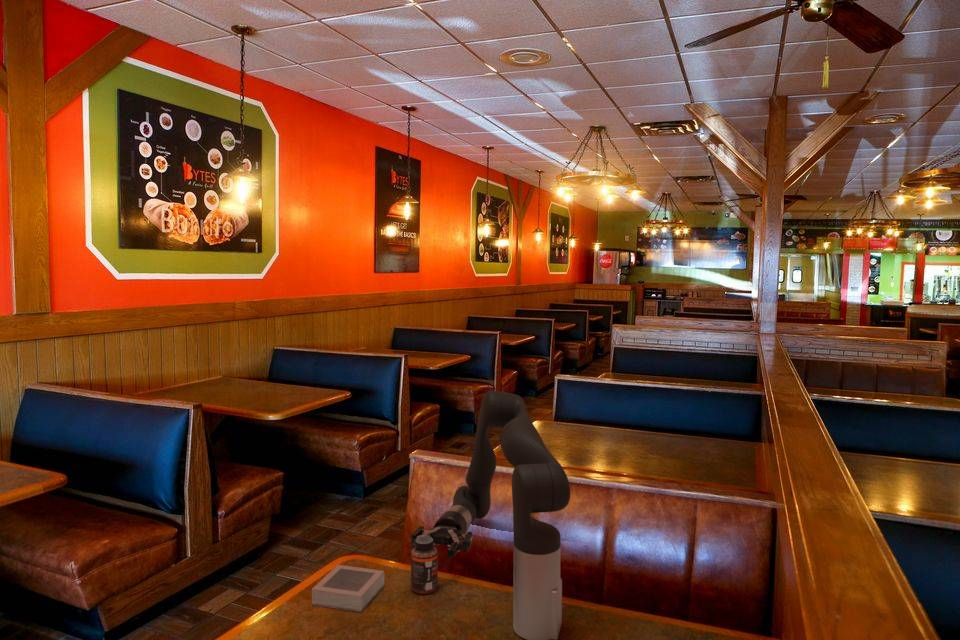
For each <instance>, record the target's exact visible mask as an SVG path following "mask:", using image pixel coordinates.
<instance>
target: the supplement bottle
mask: <svg viewBox="0 0 960 640" xmlns="http://www.w3.org/2000/svg"><path fill="white" fill-rule="evenodd" d="M415 546H416V547H415V548H413V550H412V549H411V552H410V567H411V568H410V580H411V581H410V582H411V583H410V585H411V590H412V591H413V592H415V593H416V594H419V595H428V594H432V593H434V592H435V591H437V589H438V588H439V587H438V586H439V580H438V579H439V573H438V572H439V568H438V567H439V566H438V564H439V562H438V561H439V558H438V556H439V555H438V549H437V548H436V547H435V545H434V544H433V539H432V538H431V537H426V536H424V537H419V538H417V539H416V540H415Z"/></svg>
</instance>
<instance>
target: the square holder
mask: <svg viewBox="0 0 960 640" xmlns="http://www.w3.org/2000/svg"><path fill="white" fill-rule="evenodd" d="M384 587H385V571H384V570H380V569H379V570H378V569H373V568H365V567H355V566H350V565H343V564H337V565H335V567H334V568H332V570H330V571H329V572H328V573H327V574H326V575H325V576H324V577H323V578H322V579H321V580H319V582H318V583H316V585H314V586H313V587H312V588H311V604H312V606H317V607H324V608H330V609H335V610H337V609H338V610H344V611H349V612H356V613H363V611H364V610H365V609H366V608H367V606H368V605H370V603H371V602H372V601H373V600H374V599H375V597H376V596H377V595H378V594H379V593H380V592H381V591H382V589H383V588H384Z"/></svg>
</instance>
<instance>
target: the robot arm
mask: <svg viewBox="0 0 960 640" xmlns="http://www.w3.org/2000/svg"><path fill="white" fill-rule="evenodd" d="M527 409H528V408H527V405H526V403H525V400H524V399H523V398H522V396H520V395H518V394H515V393H510V392H505V391H499V390H491V389H490V390H487V392H485V394H484V396H483V398H482V400H481V403H480V408H479V413H478V419H477V423H476V424H477V425H476V429H475V430H476V431H475V438H474V444H473V445H474V446H473V450H472V456H471V460H470V462H469V466H468V470H467V474H466V477H465V483H466V485H461V486H459V487H458V488H457V489H456V490H455V492H454V495H453V498H452V505H451V506H450V507H449V508H447V509H446V510H445V511H444V513H442V515H441V516H440V517H439V518H438V519H437V520H436V522H435V523H434V526H433V527H432V528H430V529H429V530H428V529H425V527H424V526H422V525H421V526H419V527H418V528H416V529H415V530H414V531H413V532H412V533H411V534H410V545H411V551H412V550H413V548H415V547H416V546H415V540H416V539H417V538H419V537H424V536H426V537H431V538H432V539H433V544H434V545H433V546H435V545H436V546H439V545H441V546H446V547H448V549H447V558H448V559H452V558H453V557H455V556H456V555H457V554H458V553H459V552H461V551H462V552H464V553H467V552H469V549H470V547H471V546H472V544H473V532H472V531H469V529H470V526H472V524H473V522H474V521H475V519H477V520H481V519H484V518H485V517H486V516H487V515H488V513H489V511H490V509H491V502H492V501H491V499H492V498H491V496H492V495H491V486H492V481H493V478H494V475H495V472H496V468H497V456H496V454H495V451H494V447H493V445H492V442H491V439H490V434H489V429H490V428H491V427H492V428H493V427H494V428H500V429H501V431H500V433H499V445H500V448H501V450H502V452H503V455H504V457H505V459H506V461H507V462H508V463H509V465H511V466H513V467H514V468H513V471H512V475H511V498H512V499H511V500H512V518H513V519H512V520H513V521H512V525H513V526H512V529H513V530H512V531H513V569H512V570H513V571H512V572H513V577H512V578H513V585H512V586H513V589H512V590H513V592H512V593H513V595H512V596H513V600H512V601H513V602H512V603H513V604H512V606H513V608H512V609H513V610H512V611H513V614H512V618H513V619H512V624H513V625H512V626H513V631H514V633H515V634H517V636H519V637H520V638H523V639H525V640H558V639H559V634H560V631H561V627H562V623H563V621H562V618H563V617H562V615H563V613H562V611H563V609H562V608H563V607H562V606H563V604H562V602H563V579H562V578H561V540H562V539H561V538H562V537H561V533H560V531H559V529H558V528H556V527H555V526H554V525H552V524H550V523H547V522H544V521H541V520H538V519H536V518H534V517H533V516H532V514H537V513H555V512H559V511H561V510H564V509H566V507H567V506H568V504H570V498H571V486H570V481H569V478H568V476H567V473H566V470H565V469H564V468H563V465H561V463H560V462H559V460H557V459H556V457H554V455H553V454H552V453H551V452H550V450H549V449H548V447H547V445H546V444H545V442H544V441H543V438H542V437H541V435H540V433H539V431H538V430H537V428H536V427H535V424H533V421H532V419H531V418H530V415H529V412H528V410H527Z"/></svg>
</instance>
